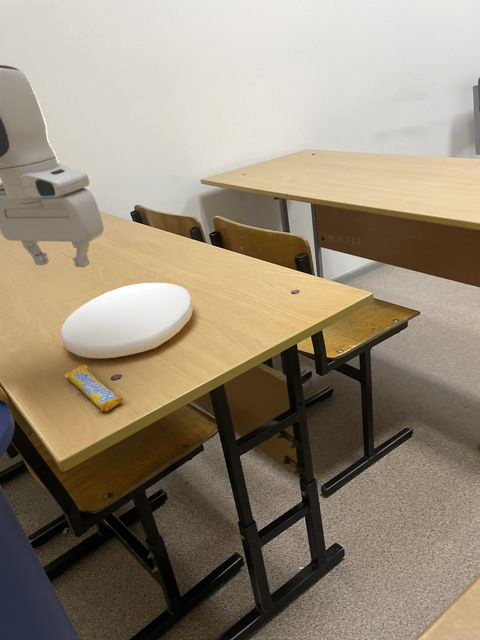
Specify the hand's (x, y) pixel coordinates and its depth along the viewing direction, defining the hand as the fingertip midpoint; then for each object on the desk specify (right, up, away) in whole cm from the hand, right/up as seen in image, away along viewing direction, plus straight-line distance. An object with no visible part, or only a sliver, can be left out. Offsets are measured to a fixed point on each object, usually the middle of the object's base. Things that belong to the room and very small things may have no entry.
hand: (62, 265), depth 89 cm
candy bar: (+5, -22, +1) cm, 22 cm away
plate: (+7, -10, +21) cm, 24 cm away
